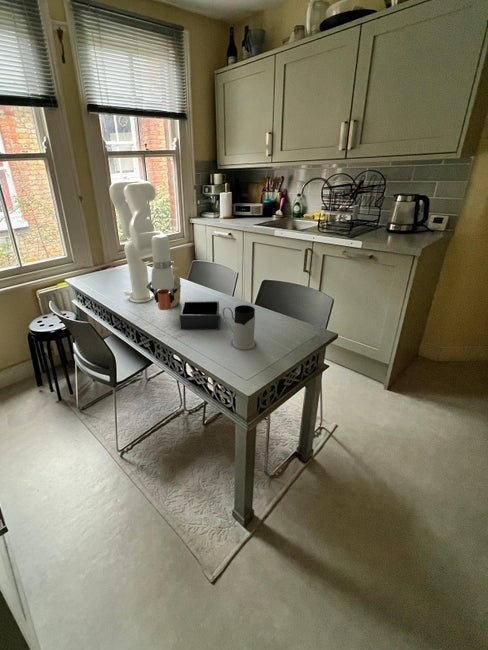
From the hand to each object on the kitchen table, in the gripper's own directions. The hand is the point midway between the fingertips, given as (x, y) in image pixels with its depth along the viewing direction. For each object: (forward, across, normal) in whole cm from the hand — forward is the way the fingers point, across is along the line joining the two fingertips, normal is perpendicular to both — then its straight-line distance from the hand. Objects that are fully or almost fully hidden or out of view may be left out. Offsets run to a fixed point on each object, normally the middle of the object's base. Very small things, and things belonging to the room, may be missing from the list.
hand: (164, 301), depth 144 cm
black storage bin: (+9, -16, +3) cm, 19 cm away
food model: (+9, -2, -15) cm, 18 cm away
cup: (+3, 0, 0) cm, 3 cm away
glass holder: (+8, -32, +20) cm, 39 cm away
